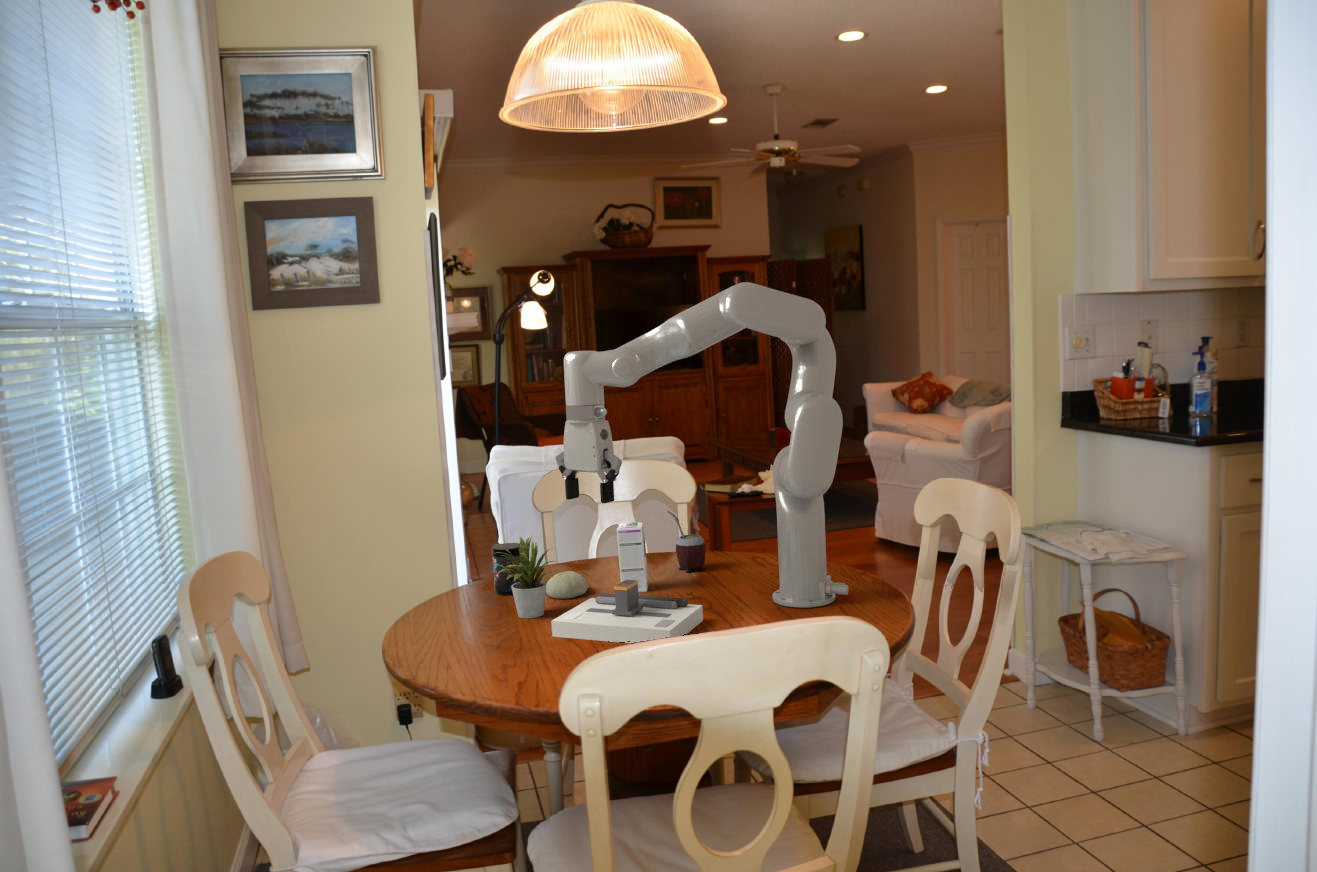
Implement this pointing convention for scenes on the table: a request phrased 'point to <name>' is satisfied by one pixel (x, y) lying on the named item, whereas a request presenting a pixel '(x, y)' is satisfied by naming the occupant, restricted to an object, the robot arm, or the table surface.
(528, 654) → the table surface
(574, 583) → the sea urchin shell
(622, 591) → the handle
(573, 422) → the robot arm
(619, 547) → the syrup box
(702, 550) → the mate gourd
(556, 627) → the base
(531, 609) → the house plant
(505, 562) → the supplement container
